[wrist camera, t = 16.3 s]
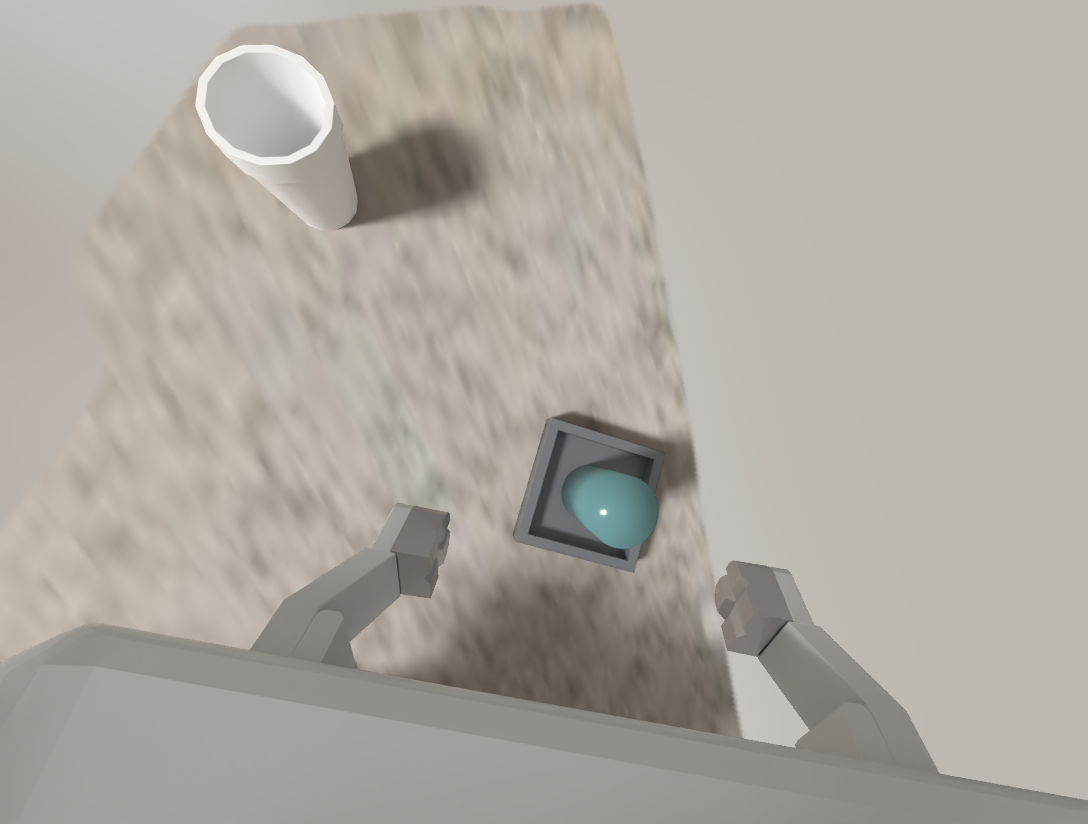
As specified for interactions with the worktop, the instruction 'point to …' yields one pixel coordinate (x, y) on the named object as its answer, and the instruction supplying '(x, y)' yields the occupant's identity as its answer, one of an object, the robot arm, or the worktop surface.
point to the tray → (542, 502)
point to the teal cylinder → (611, 505)
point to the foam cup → (280, 130)
